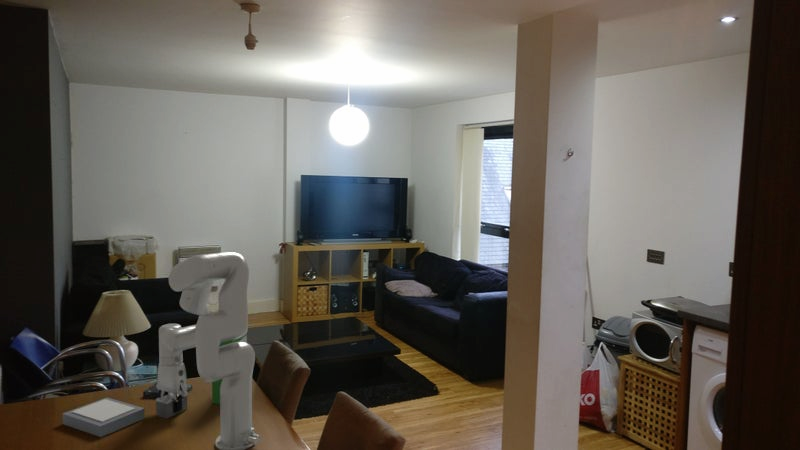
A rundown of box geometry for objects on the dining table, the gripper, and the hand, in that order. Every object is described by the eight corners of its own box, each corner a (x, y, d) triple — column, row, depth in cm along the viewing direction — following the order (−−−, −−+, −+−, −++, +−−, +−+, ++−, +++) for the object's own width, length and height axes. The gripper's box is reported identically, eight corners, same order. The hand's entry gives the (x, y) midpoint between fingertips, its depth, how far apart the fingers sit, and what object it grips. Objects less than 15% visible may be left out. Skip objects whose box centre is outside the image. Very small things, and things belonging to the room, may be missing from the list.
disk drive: (142, 399, 207) (181, 400, 206) (142, 392, 206) (180, 392, 206) (156, 389, 217) (193, 389, 216) (156, 382, 217) (192, 382, 216)
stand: (144, 418, 188) (144, 407, 188) (100, 437, 174) (100, 425, 174) (107, 407, 198) (106, 396, 197) (62, 424, 183) (62, 412, 183)
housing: (187, 409, 197) (187, 392, 196) (166, 418, 189) (166, 401, 188) (177, 406, 199) (177, 390, 198) (156, 415, 191) (156, 398, 190)
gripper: (196, 360, 192) (197, 411, 193) (163, 353, 199) (164, 401, 201) (179, 366, 185) (180, 419, 186) (145, 358, 193) (146, 409, 194)
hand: (172, 409), depth 194 cm, fingers closed on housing, 5 cm apart
